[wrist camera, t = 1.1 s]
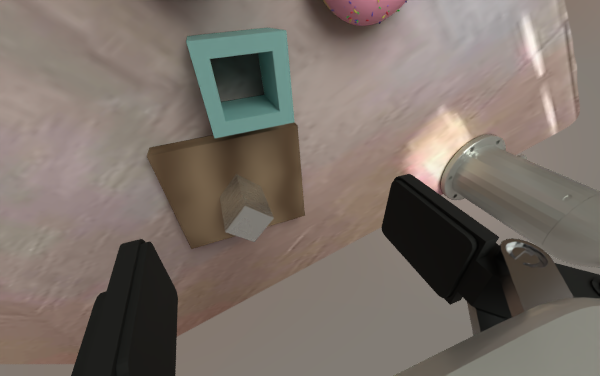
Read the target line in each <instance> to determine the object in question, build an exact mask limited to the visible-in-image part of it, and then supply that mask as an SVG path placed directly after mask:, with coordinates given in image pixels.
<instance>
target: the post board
mask: <svg viewBox="0 0 600 376" xmlns="http://www.w3.org/2000/svg"><path fill="white" fill-rule="evenodd" d="M147 158H148V160H149V162H150V164H151V166H152V168H153V170H154V172H155V174H156V176H157V178H158V180H159V183H160V185H161V187H162V189H163V191H164V193H165V195H166V197H167V199H168V201H169V203H170V205H171V207H172V209H173V211H174V214H175V216H176V218H177V220H178V222H179V224H180V226H181V228H182V230H183V232H184V234H185V236H186V238H187V240H188V243H189V245H190V247H191V249H193V248H197V247H200V246H203V245H207V244H210V243H214V242H217V241H220V240H224V239H227V238H231V237H234V236H238V237H241V238H244V239H247V240H250V241H253V242H255V241H256V239H257V238H258V237H259V236H260V235H261V233H262V232H263V231H264V230H265V228H266V227H268V226H271V225H275V224H278V223H281V222H285V221H288V220H291V219H295V218H298V217H302V216H305V212H304V200H303V188H302V175H301V163H300V151H299V139H298V127H297V125H296V124H295V123H289V124H284V125H279V126H274V127H269V128H264V129H259V130H254V131H249V132H244V133H239V134H234V135H229V136H224V137H219V138H214V135H211V136H206V137H201V138H196V139H191V140H186V141H181V142H176V143H171V144H166V145H161V146H156V147H151V148H149V151H148V154H147Z"/></svg>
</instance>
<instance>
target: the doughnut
mask: <svg viewBox="0 0 600 376" xmlns="http://www.w3.org/2000/svg"><path fill="white" fill-rule="evenodd" d="M323 1H324V3H325V4H326V5H327V7H328V8H329V9H330V10H331V11H332V12H333V13H334V14H335V15H337V16H338V17H339V18H340V19H342V20H344V21H346V22H348V23H350V24H353V25H357V26H367V25H372V24H376V23H379V24H380V22H381V21H383V20H385V19H386V18H388V17H389V16H391V15H392V14H393V13H395V12H397V11H399V10H398V9H399V8H400V7H401V6H402V5H403V4H404V3H405V2H407V0H323Z"/></svg>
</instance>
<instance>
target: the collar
mask: <svg viewBox="0 0 600 376" xmlns="http://www.w3.org/2000/svg"><path fill="white" fill-rule="evenodd" d="M186 42H187V46H188V49H189V53H190V56H191V60H192V63H193V66H194V70H195V73H196V77H197V80H198V83H199V87H200V90H201V94H202V97H203V101H204V104H205V107H206V111H207V114H208V118H209V121H210V125H211V128H212V131H213V135H214V138H219V137H224V136H229V135H234V134H239V133H244V132H249V131H254V130H259V129H264V128H269V127H274V126H279V125H284V124H289V123H294V112H293V101H292V90H291V79H290V67H289V56H288V45H287V34H286V30H280V29H273V28H259V29H250V30H240V31H231V32H221V33H212V34H203V35H193V36H187V40H186ZM252 53H258V57H259V63H260V70H261V77H262V83H263V90H264V95H259V96H253V97H248V98H242V99H236V100H230V101H224V102H220V98H219V94H218V90H217V86H216V82H215V78H214V74H213V70H212V66H211V62H210V59H214V58H221V57H229V56H237V55H245V54H252Z"/></svg>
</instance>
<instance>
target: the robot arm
mask: <svg viewBox="0 0 600 376" xmlns="http://www.w3.org/2000/svg"><path fill="white" fill-rule="evenodd" d="M441 190H442V192H443V194H444V195H445V196H447V197H448V198H450V199H452V200H460V199H464V198H466V199H467V200H469V201H470V202H472V203H473V204H475V205H476V206H478V207H479V208H481V209H482V210H484V211H485V212H487V213H488V214H490V215H491V216H493V217H494V218H496V219H497V220H499V221H500V222H502V223H503V224H505V225H506V226H508V227H509V228H511V229H512V230H514V231H515V232H517V233H518V234H520V235H521V236H523V237H524V238H526V239H527V240H529V241H530V242H532V243H534V244H535V245H534V244H532V243H529V242H527V241H524V240H520V239H513V238H511V239H506V240H504V241H502V242H501V244H500V246H499V245H498V244H497V243H496V241H497V240H498V238H499V237H498V236H497V235H495V234H494V233H493V232H491V231H490V230H488V229H487V228H486V227H484V226H483V225H481V224H480V223H479V222H477V221H476V220H474V219H473V218H472V217H470V216H469V215H467V214H466V213H465V212H463V211H462V210H460V209H459V208H458V207H456V206H455V205H453V204H452V203H451V202H449V201H448V200H446V199H445V198H443V197H442V196H441V195H439V194H438V193H436V192H435V191H434V190H432V189H431V188H429V187H428V186H427V185H425V184H424V183H422V182H421V181H420V180H418V179H417V178H415V177H414V176H413V175H411V174H407V175H402V176H398V177H396V178H395V179H394V181H393V182H392V184H391V188H390V193H389V197H388V201H387V206H386V210H385V215H384V219H383V224H382V232H383V233H384V235H385V236H386V237H387V239H388V240H389V241H390V242H391V243H392V244H393V245H394V246H395V247H396V249H397V250H398V251H399V252H400V253H401V254H402V255H403V256H404V257H405V259H407V261H408V262H409V263H410V264H411V265H412V266H413V268H414V269H415V270H416V271H417V272H418V273H419V274H420V275H421V277H422V278H423V279H424V280H425V281H426V282H427V283H428V284H429V285H430V287H431V288H432V289H433V290H434V291H435V292H436V293H437V294H438V295H439V296H440V297H442V298H444V299H445V300H446V301H447V302H448V303H449V304H452V303H455V302H457V301H459V300H461V299H462V297H464V299H465V300H466V301H467V304H468V309H469V315H470V320H471V324H472V330H473V336H472V337H470V338H468V339H466V340H465V341H462V342H460V343H458V344H456V345H454V346H452V347H450V348H448V349H446V350H444V351H442V352H440V353H438V354H436V355H434V356H432V357H430V358H428V359H426V360H424V361H422V362H420V363H418V364H416V365H414V366H412V367H410V368H408V369H406V370H404V371H402V372H400V373H398V374H396V375H394V376H600V275H599V274H594V273H591V272H587V271H583V270H579V269H575V268H572V267H568V266H564V265H560V264H556V263H554V261H553V260H552V258H551V257H550V256H549V255H548V254H547V253H549V254H550V255H552V256H553V257H555V258H557V259H559V260H561V261H563V262H566V263H570V264H573V265H579V266H585V267H597V268H600V191H598V190H596V189H593V188H591V187H589V186H586V185H584V184H581V183H579V182H577V181H574V180H572V179H570V178H568V177H565V176H563V175H561V174H558V173H556V172H554V171H551V170H549V169H547V168H544V167H542V166H539V165H537V164H535V163H532V162H530V161H528V160H527V157H526V156H525V155H518V156H516V155H514V154H512V153H509V152H507V151H506V147H505V143H504V141H503V139H502V138H500V137H498V136H495V135H492V134H486V135H482V136H479V137H477V138H475V139H473V140H472V141H470V142H468V143H467V144H466V145H465V146H463V147H462V148H461V149H460V150H459V151H458V152H457V153H456V154H455V155H454V157H453V158H452V159H451V160H450V162H449V163H448V165H447V167H446V169H445V171H444V173H443V176H442V180H441ZM545 251H546V252H547V253H546V252H545ZM177 307H178V297H177V291H176V289H175V287H174V285H173V283H172V281H171V279H170V277H169V275H168V273H167V271H166V269H165V268H164V266H163V264H162V262H161V260H160V258H159V256H158V254H157V252H156V250H155V248H154V246H153V244H152V243H151V242H146V243H145V241H144V240H143V239H140V240H135V241H131V242H127V243H123V244H121V245H120V247H119V251H118V254H117V258H116V261H115V265H114V268H113V271H112V275H111V278H110V282H109V285H108V289H107V291H106V292H103V293H100V294H99V296H98V297H97V299H96V301H95V303H94V306H93V309H92V313H91V316H90V319H89V322H88V325H87V328H86V331H85V334H84V337H83V341H82V344H81V347H80V350H79V353H78V356H77V359H76V362H75V365H74V369H73V372H72V375H71V376H175V366H176V337H177Z"/></svg>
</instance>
